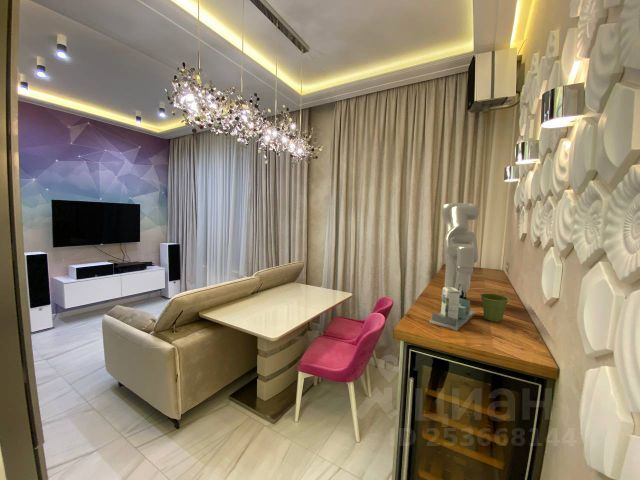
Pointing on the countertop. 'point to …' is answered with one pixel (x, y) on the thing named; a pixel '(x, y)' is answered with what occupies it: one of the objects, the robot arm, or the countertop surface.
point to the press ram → (463, 307)
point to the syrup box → (450, 302)
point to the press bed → (459, 322)
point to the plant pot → (493, 306)
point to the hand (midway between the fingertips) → (461, 303)
